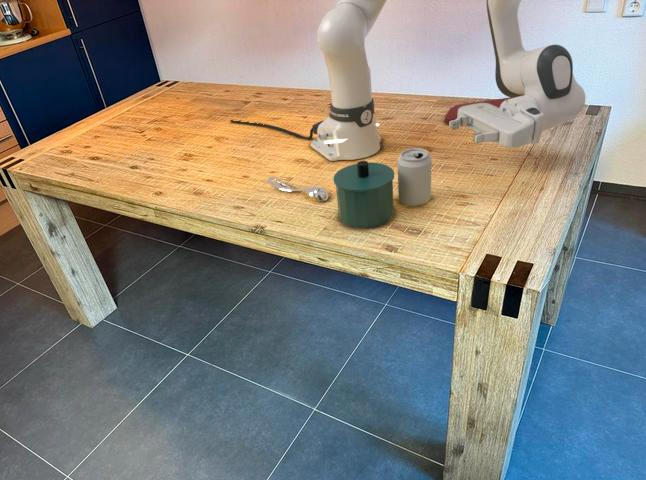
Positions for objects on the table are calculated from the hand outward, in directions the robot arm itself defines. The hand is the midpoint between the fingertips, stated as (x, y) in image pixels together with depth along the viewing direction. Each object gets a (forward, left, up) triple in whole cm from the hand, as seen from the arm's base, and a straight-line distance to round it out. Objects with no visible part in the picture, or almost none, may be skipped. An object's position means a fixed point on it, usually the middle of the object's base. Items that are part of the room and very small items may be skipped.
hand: (462, 132), depth 114 cm
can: (-3, -12, -14) cm, 18 cm away
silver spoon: (-29, -28, -14) cm, 43 cm away
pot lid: (-7, -24, -4) cm, 25 cm away
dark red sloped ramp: (-22, +38, -14) cm, 47 cm away
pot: (-7, -24, -14) cm, 28 cm away
